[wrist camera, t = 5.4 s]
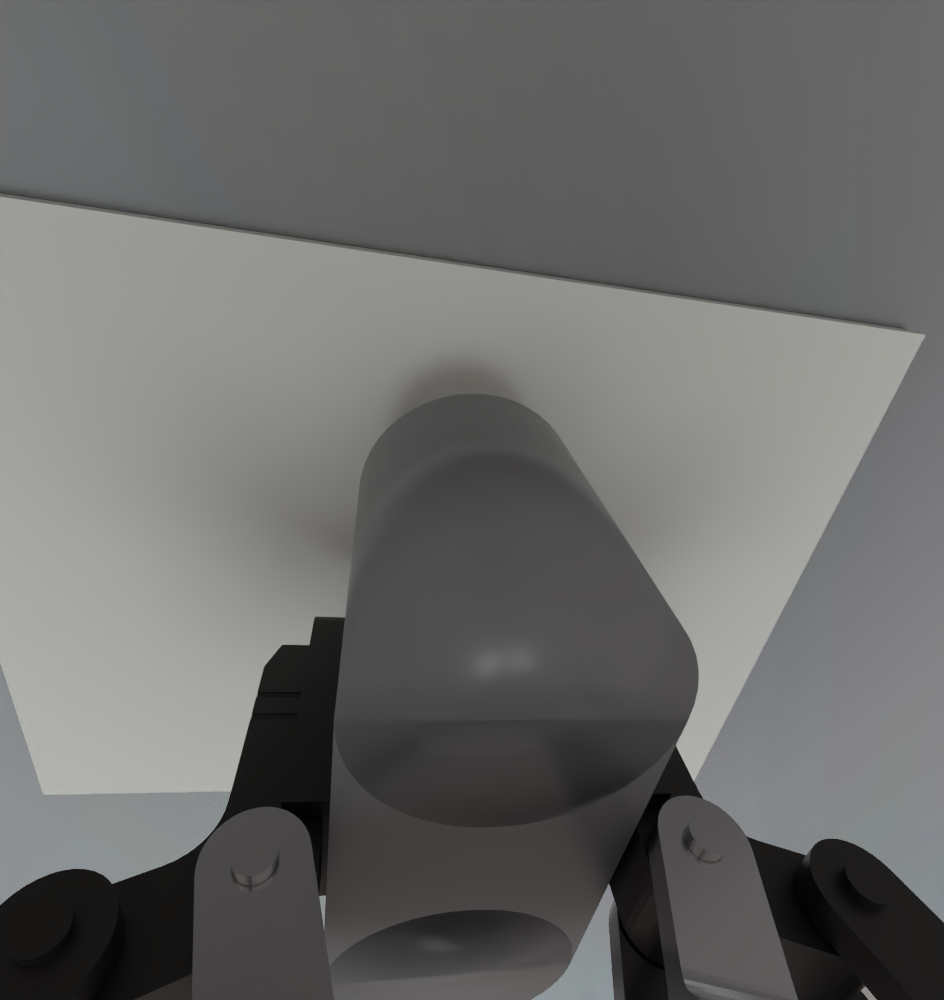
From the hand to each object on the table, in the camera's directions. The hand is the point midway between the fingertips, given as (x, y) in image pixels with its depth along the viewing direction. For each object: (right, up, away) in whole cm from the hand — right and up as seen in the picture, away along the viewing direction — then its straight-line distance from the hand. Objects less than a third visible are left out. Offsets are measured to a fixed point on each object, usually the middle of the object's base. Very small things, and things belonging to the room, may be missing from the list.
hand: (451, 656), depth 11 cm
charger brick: (0, +1, +1) cm, 1 cm away
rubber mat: (-1, +1, +4) cm, 4 cm away
